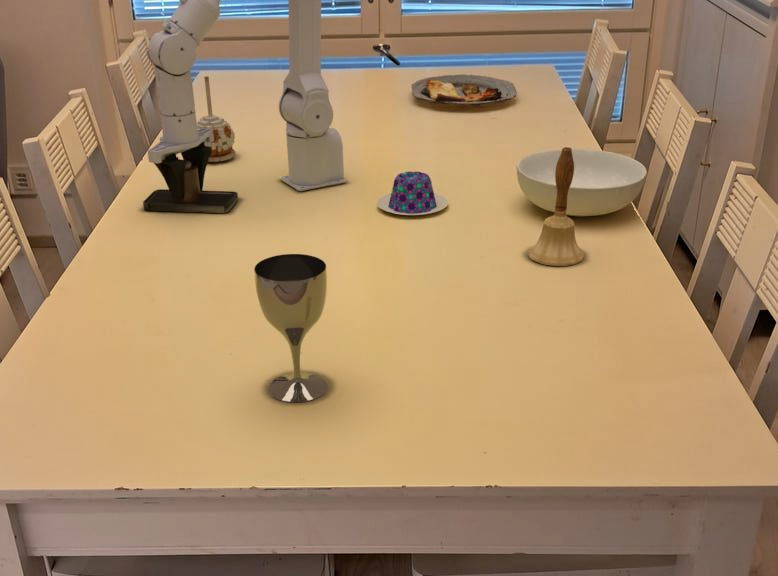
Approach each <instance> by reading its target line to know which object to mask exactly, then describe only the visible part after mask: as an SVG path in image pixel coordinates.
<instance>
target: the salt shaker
mask: <svg viewBox="0 0 778 576" xmlns="http://www.w3.org/2000/svg"><path fill="white" fill-rule="evenodd" d="M200 200H201V194H200V185H199V176H198V167H197V166H196V165H194V164H191V162H190V161H187V162H186V165H185V170H184V199H183V200H177V199H175V201H176V202H178V203H183V204H188V203H195V202H198V201H200Z"/></svg>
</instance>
